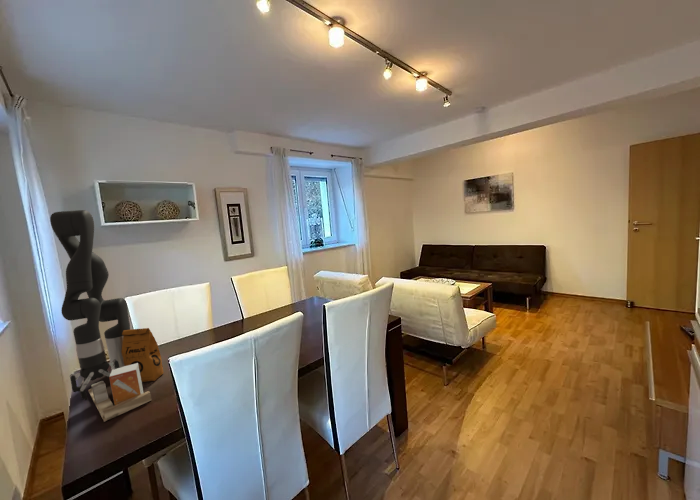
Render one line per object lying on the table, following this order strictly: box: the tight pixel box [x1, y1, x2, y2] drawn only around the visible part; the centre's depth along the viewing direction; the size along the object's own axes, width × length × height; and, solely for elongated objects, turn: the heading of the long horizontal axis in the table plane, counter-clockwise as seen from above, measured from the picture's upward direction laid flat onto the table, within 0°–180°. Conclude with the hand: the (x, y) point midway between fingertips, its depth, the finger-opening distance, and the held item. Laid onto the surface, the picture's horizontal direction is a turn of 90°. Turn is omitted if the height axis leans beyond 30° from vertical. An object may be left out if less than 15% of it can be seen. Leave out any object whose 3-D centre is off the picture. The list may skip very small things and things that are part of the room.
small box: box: [108, 363, 145, 406], centre depth 113 cm, size 8×6×13 cm
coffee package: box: [121, 327, 165, 383], centre depth 129 cm, size 10×12×22 cm
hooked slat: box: [88, 380, 152, 423], centre depth 118 cm, size 30×14×7 cm, turn 48°
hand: (100, 393), depth 115 cm, fingers open, 8 cm apart
